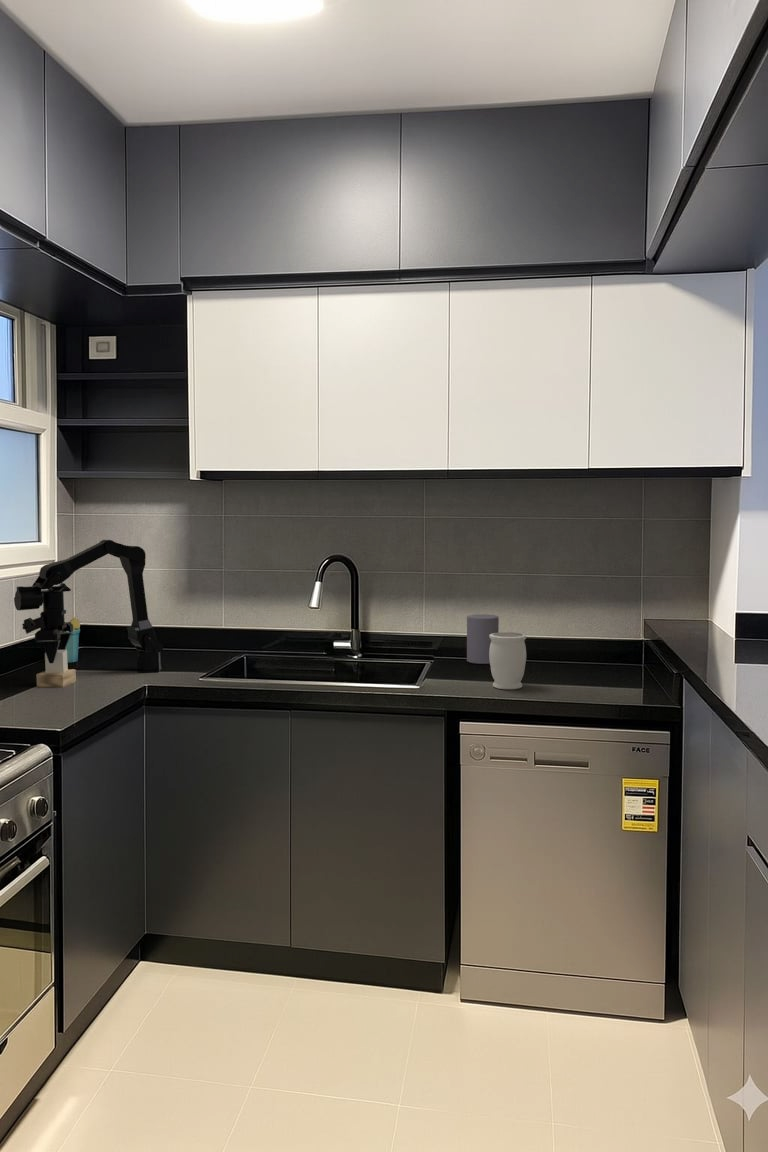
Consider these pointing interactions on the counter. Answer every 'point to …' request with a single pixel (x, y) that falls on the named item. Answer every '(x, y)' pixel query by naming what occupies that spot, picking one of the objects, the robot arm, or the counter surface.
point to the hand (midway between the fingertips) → (55, 660)
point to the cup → (73, 641)
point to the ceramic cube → (57, 663)
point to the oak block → (56, 678)
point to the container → (480, 637)
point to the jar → (507, 659)
